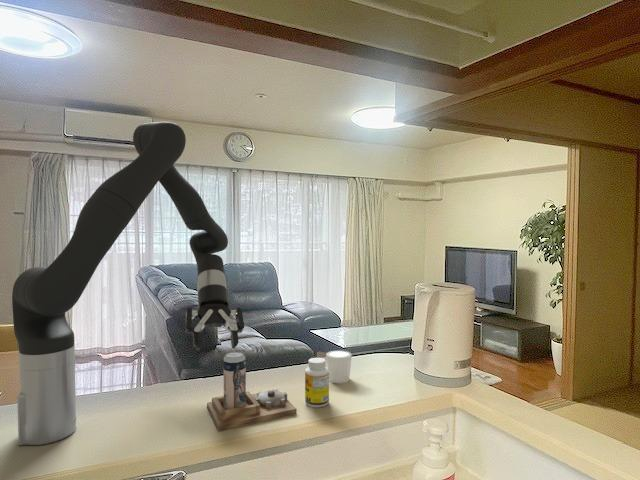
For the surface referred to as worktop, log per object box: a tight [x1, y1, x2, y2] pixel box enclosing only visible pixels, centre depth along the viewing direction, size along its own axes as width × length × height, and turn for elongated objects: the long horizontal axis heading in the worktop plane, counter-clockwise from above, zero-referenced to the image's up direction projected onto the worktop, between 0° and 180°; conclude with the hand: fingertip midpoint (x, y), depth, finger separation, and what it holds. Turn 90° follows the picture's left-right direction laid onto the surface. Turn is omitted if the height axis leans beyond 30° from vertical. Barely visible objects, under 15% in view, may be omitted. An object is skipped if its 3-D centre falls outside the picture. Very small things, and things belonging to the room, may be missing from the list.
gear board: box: [206, 389, 298, 432], centre depth 93 cm, size 17×12×3 cm
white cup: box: [325, 350, 353, 384], centre depth 112 cm, size 7×7×7 cm
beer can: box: [223, 351, 247, 410], centre depth 92 cm, size 5×5×12 cm
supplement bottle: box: [304, 357, 330, 408], centre depth 97 cm, size 6×6×10 cm
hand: (216, 348), depth 101 cm, fingers open, 8 cm apart
